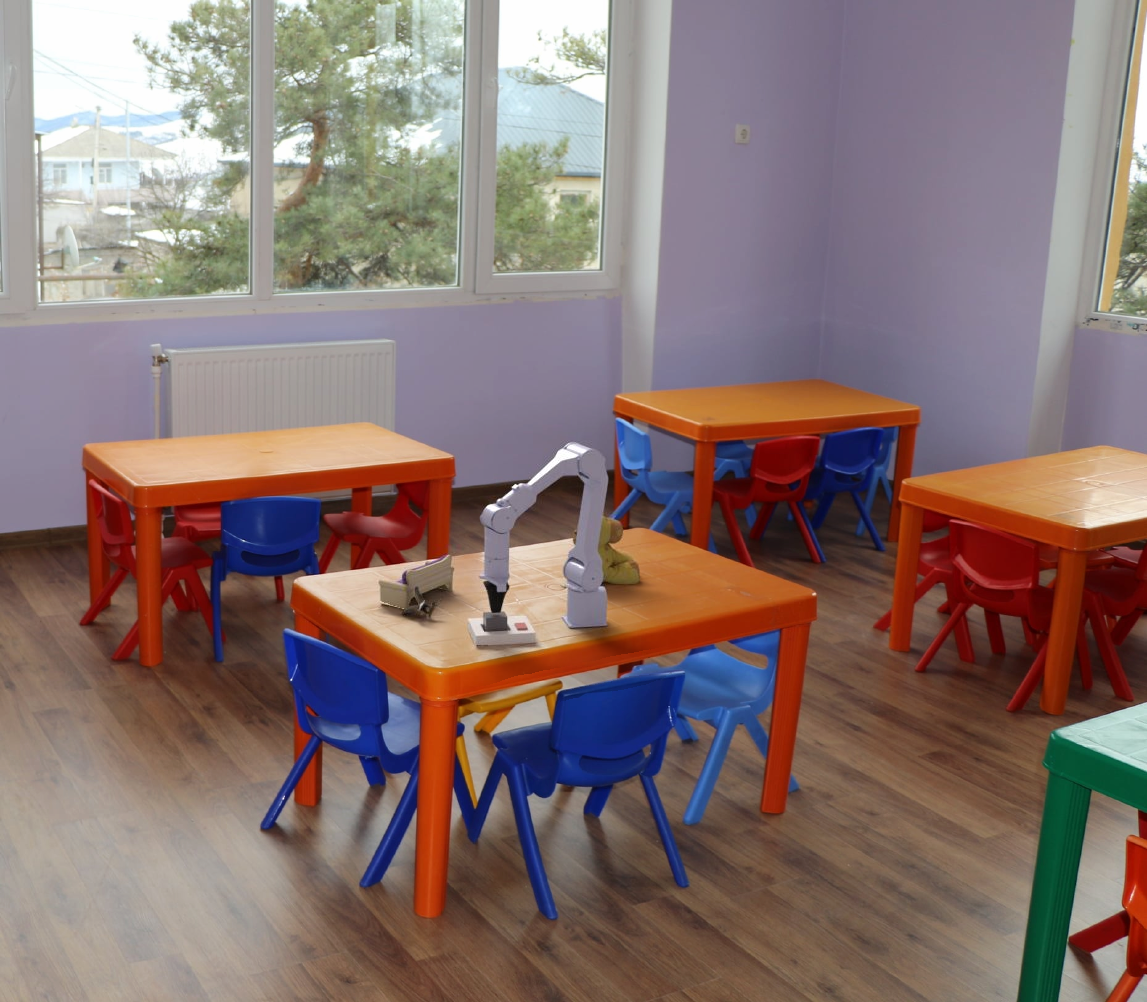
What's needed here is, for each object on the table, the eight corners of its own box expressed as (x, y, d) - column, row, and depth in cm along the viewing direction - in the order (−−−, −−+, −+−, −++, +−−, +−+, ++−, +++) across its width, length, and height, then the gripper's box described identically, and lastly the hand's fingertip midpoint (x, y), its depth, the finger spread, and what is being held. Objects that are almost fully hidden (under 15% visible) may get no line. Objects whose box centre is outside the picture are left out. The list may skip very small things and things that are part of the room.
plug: (503, 631, 302) (504, 611, 300) (507, 637, 298) (507, 617, 297) (483, 632, 300) (483, 612, 299) (485, 638, 297) (486, 618, 295)
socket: (525, 625, 308) (525, 613, 307) (535, 642, 297) (535, 630, 296) (467, 628, 305) (467, 616, 304) (475, 646, 293) (475, 633, 293)
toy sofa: (427, 584, 337) (427, 547, 335) (454, 590, 333) (455, 552, 330) (377, 605, 319) (377, 566, 317) (405, 612, 315) (405, 572, 313)
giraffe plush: (653, 579, 346) (656, 511, 342) (593, 598, 330) (596, 526, 325) (598, 562, 360) (600, 496, 355) (538, 579, 344) (540, 510, 339)
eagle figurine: (445, 609, 314) (418, 595, 319) (439, 591, 309) (411, 577, 314) (426, 631, 311) (399, 617, 315) (419, 613, 305) (391, 599, 310)
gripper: (474, 547, 300) (473, 602, 304) (484, 566, 287) (484, 623, 290) (504, 546, 302) (502, 601, 305) (515, 564, 288) (514, 621, 292)
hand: (495, 612), depth 298 cm, fingers closed
